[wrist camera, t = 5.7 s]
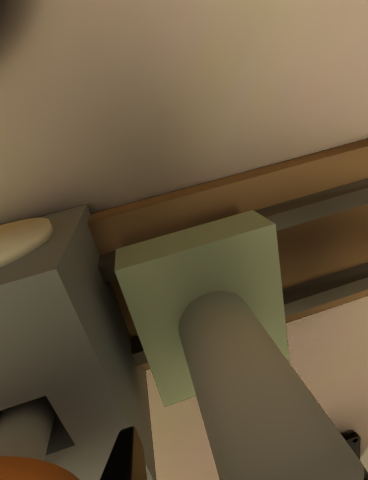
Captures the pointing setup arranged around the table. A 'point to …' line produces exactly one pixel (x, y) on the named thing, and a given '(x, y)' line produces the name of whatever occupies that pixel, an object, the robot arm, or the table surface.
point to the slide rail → (276, 210)
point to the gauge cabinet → (68, 342)
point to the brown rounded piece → (28, 443)
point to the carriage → (231, 349)
